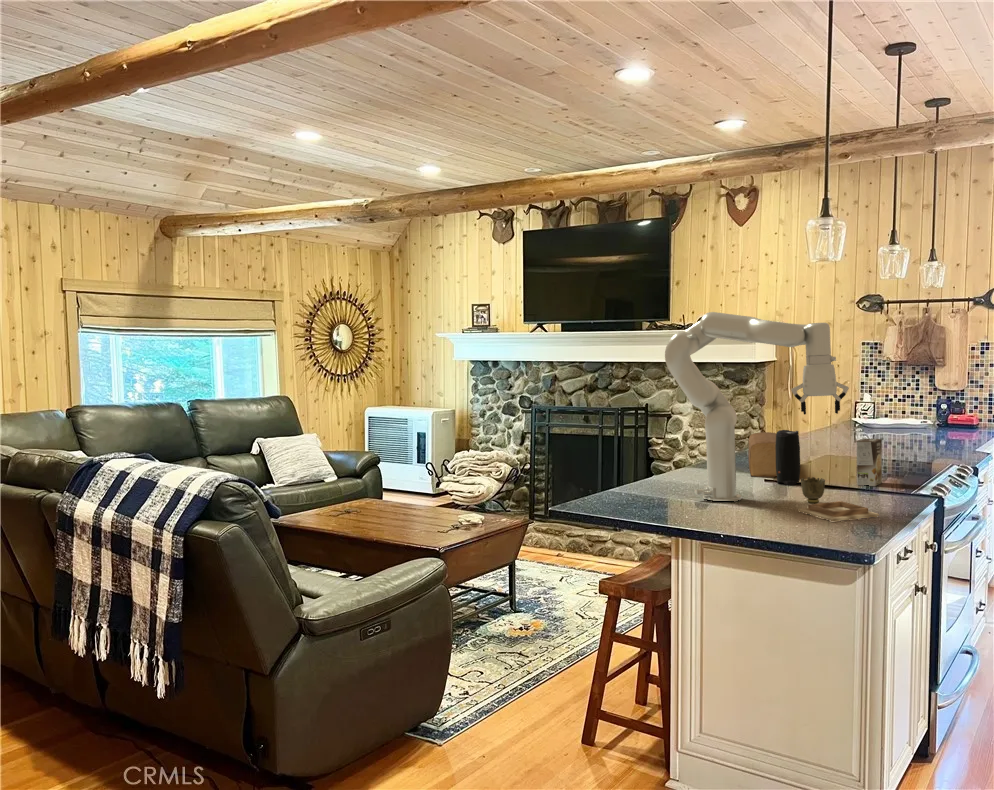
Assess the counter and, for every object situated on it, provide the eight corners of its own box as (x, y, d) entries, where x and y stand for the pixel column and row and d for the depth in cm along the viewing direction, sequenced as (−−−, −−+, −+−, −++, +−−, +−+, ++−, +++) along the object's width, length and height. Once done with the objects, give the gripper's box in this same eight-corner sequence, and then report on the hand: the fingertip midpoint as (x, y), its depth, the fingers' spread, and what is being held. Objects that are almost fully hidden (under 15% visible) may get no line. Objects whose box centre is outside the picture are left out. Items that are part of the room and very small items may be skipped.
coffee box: (875, 486, 287) (875, 441, 286) (856, 485, 291) (856, 440, 290) (882, 482, 294) (882, 438, 293) (863, 481, 298) (863, 437, 297)
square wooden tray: (833, 522, 237) (832, 513, 237) (798, 511, 252) (798, 504, 252) (878, 517, 241) (878, 508, 241) (842, 507, 257) (842, 499, 257)
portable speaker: (781, 486, 295) (780, 432, 294) (772, 482, 304) (770, 430, 303) (805, 485, 295) (804, 431, 294) (794, 480, 305) (793, 429, 303)
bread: (749, 477, 317) (748, 441, 316) (748, 463, 350) (747, 431, 349) (787, 477, 313) (786, 441, 312) (782, 463, 346) (781, 430, 345)
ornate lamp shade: (810, 506, 260) (810, 481, 259) (796, 502, 267) (795, 478, 266) (830, 504, 262) (830, 479, 261) (815, 500, 269) (815, 476, 268)
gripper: (846, 359, 263) (848, 411, 264) (790, 362, 268) (792, 413, 269) (848, 360, 256) (850, 414, 257) (790, 362, 261) (792, 415, 262)
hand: (820, 413), depth 263 cm, fingers open, 9 cm apart
